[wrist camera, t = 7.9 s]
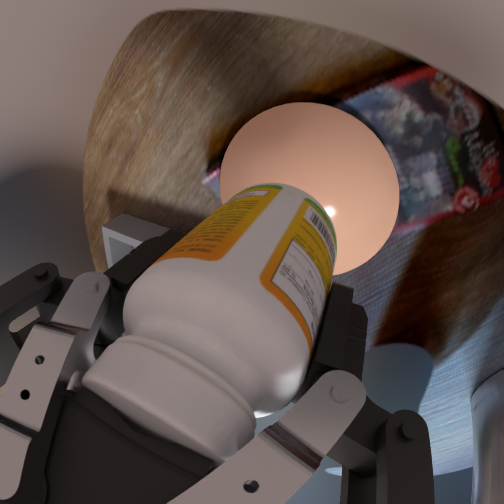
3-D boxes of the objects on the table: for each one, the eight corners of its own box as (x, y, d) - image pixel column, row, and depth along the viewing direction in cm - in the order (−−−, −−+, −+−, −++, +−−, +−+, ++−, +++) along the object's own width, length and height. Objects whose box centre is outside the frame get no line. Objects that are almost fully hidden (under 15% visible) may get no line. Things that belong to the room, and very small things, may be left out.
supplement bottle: (212, 258, 15) (81, 408, 7) (240, 160, 12) (30, 300, 4) (308, 305, 14) (232, 496, 6) (360, 214, 11) (317, 472, 3)
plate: (420, 134, 14) (423, 136, 14) (363, 291, 21) (362, 297, 20) (235, 88, 17) (230, 88, 16) (217, 242, 23) (213, 247, 23)
